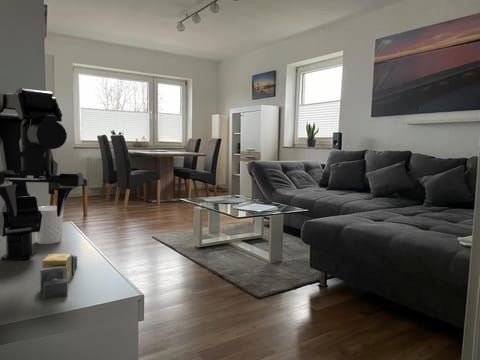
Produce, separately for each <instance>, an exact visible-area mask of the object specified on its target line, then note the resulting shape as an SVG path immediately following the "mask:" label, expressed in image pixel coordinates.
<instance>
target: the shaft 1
mask: <svg viewBox="0 0 480 360" xmlns="http://www.w3.org/2000/svg"><path fill="white" fill-rule="evenodd" d="M39 271H40V273H39V275H40V276H39V277H40V278H39V279H40V282H39V284H40V292H43V300H50V299H54V298H55V299H56V298H61V297H62V298H63V297H68V283H67V266H59V267H51V268H43V267H42V268H40V270H39Z"/></svg>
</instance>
